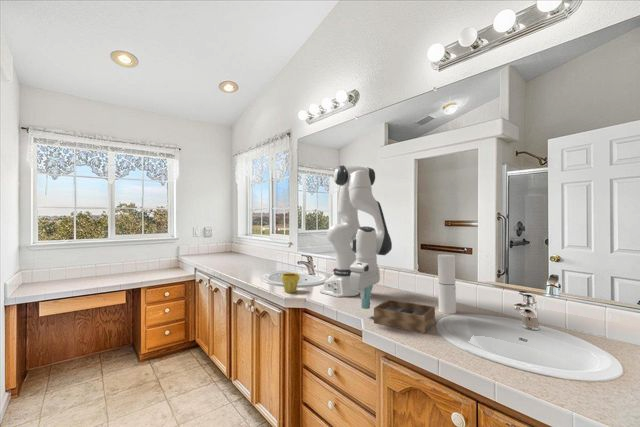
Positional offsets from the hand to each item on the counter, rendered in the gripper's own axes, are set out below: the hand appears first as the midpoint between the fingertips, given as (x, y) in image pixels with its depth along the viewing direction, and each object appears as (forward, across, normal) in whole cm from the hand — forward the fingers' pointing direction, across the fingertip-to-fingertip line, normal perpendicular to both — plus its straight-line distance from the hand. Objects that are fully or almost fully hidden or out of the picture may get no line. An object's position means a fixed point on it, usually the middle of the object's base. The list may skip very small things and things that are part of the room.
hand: (365, 296), depth 130 cm
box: (+8, -3, +16) cm, 18 cm away
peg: (+5, 0, 0) cm, 5 cm away
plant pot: (+11, -15, -57) cm, 60 cm away
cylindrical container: (+8, -27, +27) cm, 39 cm away
